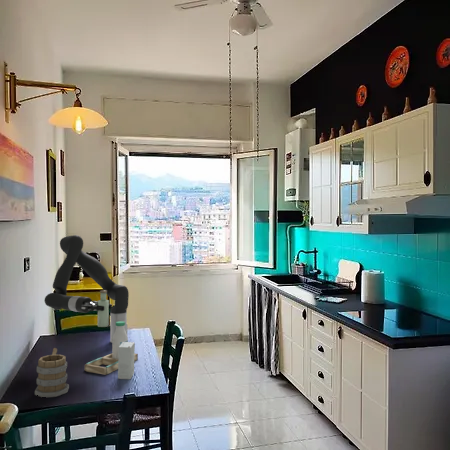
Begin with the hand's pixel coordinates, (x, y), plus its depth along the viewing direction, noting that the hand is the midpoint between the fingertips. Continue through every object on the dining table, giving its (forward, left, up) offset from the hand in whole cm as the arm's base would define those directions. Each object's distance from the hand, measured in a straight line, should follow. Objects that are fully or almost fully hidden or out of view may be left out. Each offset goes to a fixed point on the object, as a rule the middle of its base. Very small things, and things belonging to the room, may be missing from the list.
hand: (107, 307), depth 214 cm
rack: (-6, -2, -30) cm, 31 cm away
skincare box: (+4, +14, -30) cm, 33 cm away
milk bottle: (-13, -2, -30) cm, 33 cm away
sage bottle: (0, -3, -9) cm, 9 cm away
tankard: (+29, -5, -30) cm, 42 cm away
